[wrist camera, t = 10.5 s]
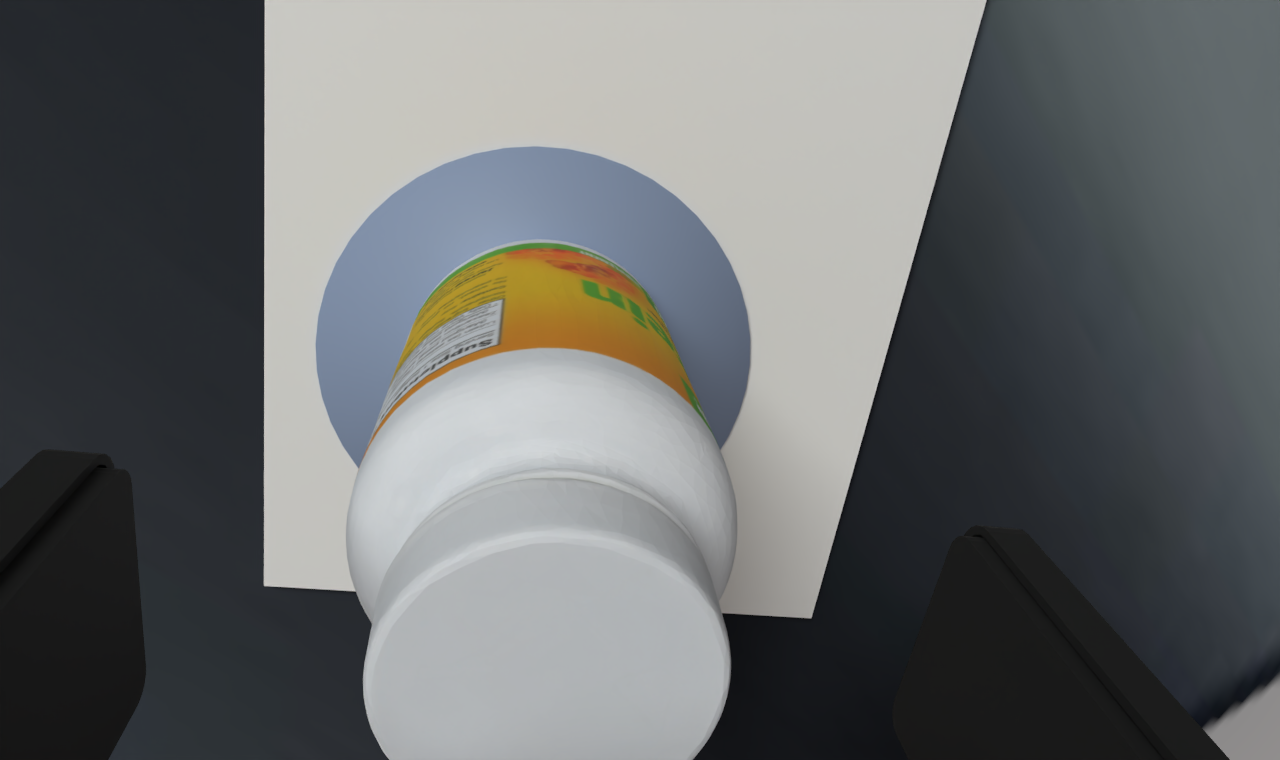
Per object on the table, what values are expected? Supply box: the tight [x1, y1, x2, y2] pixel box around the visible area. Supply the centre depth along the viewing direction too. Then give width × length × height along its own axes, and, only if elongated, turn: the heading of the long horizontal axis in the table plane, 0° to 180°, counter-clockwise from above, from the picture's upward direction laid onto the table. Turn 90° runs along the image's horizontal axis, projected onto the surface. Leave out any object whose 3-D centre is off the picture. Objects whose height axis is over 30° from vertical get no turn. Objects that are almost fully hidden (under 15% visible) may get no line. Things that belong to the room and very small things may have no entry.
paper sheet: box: [264, 0, 987, 618], centre depth 18 cm, size 18×13×1 cm
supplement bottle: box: [346, 239, 737, 760], centre depth 14 cm, size 5×5×10 cm
